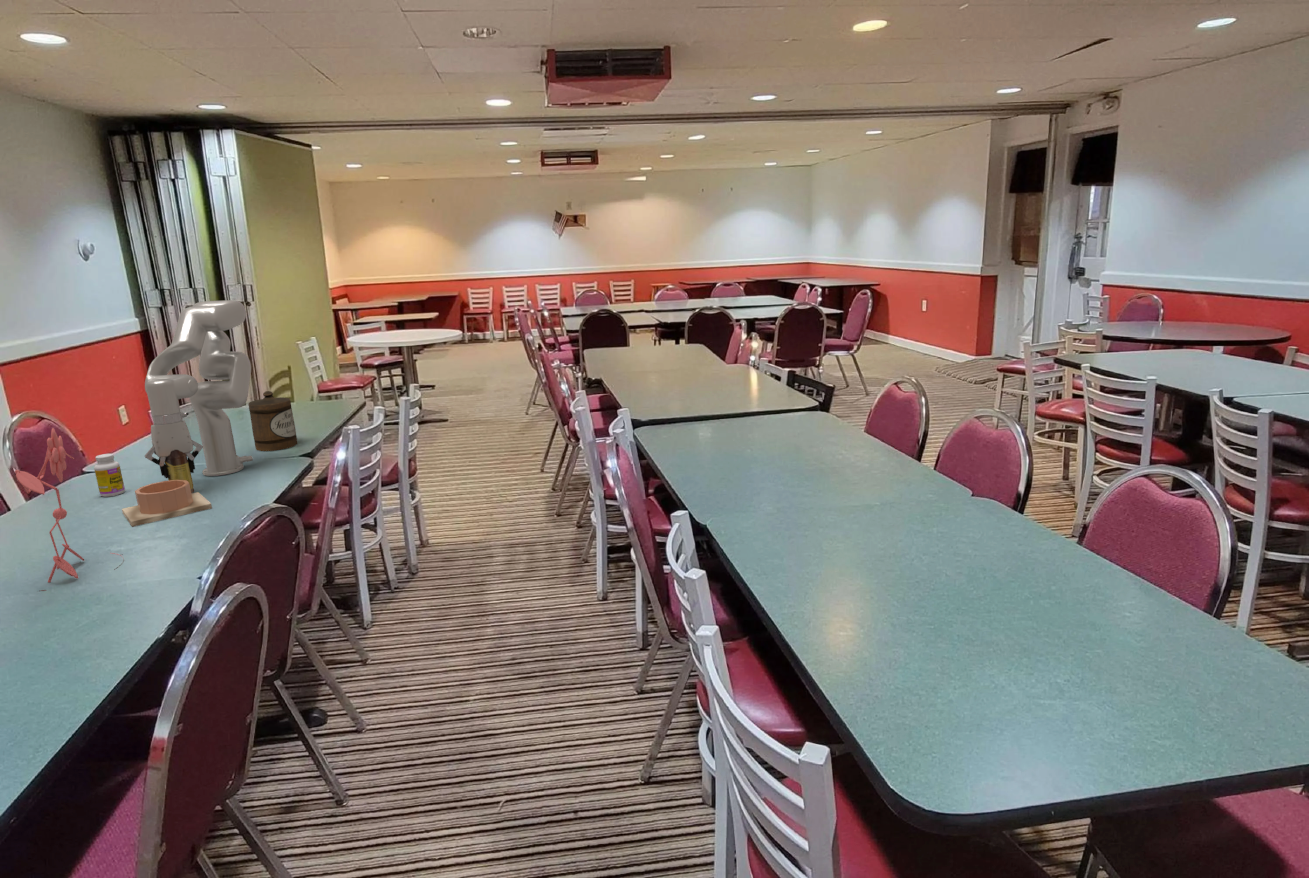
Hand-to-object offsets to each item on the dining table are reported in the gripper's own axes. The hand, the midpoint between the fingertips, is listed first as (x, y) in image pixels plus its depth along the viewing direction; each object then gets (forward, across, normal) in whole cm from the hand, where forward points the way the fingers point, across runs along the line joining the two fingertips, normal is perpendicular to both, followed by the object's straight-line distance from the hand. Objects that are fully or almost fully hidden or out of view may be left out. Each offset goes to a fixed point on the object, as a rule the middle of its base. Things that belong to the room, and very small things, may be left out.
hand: (179, 474), depth 235 cm
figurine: (+7, +30, +50) cm, 59 cm away
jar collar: (+5, +7, +15) cm, 17 cm away
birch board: (+7, +7, +15) cm, 18 cm away
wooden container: (+7, -40, -41) cm, 58 cm away
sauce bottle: (+7, 0, 0) cm, 7 cm away
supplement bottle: (+7, +16, -19) cm, 26 cm away
